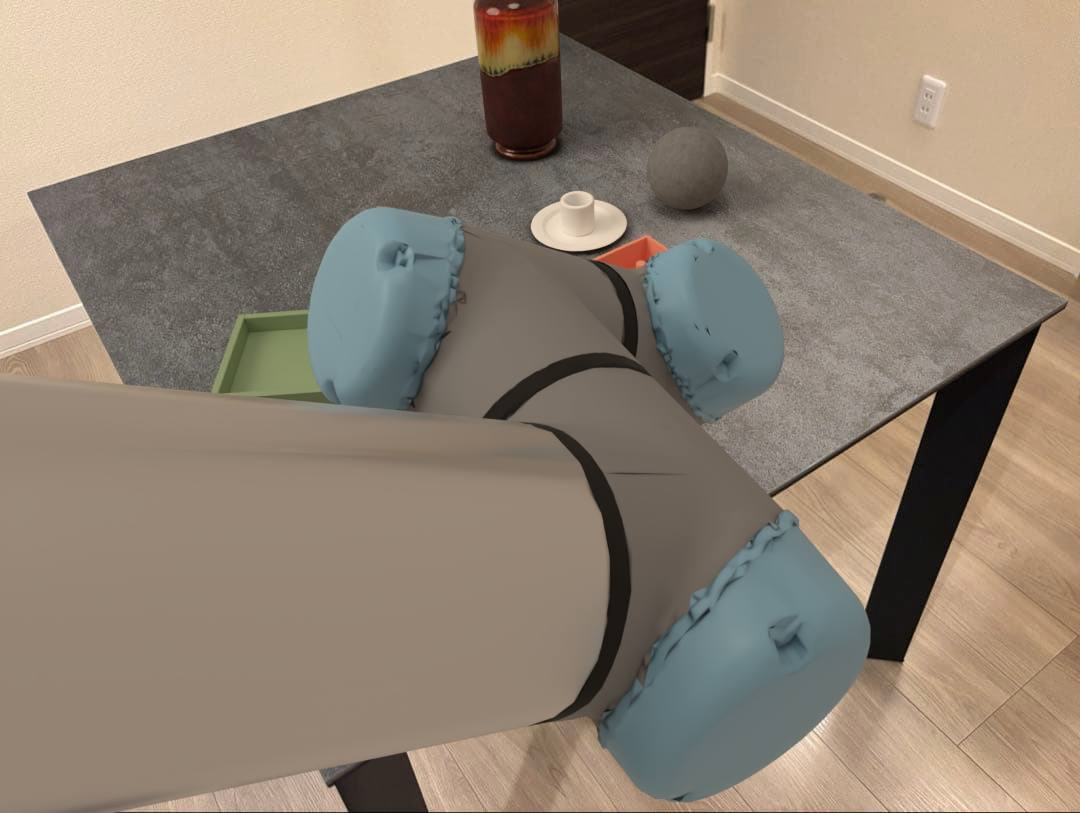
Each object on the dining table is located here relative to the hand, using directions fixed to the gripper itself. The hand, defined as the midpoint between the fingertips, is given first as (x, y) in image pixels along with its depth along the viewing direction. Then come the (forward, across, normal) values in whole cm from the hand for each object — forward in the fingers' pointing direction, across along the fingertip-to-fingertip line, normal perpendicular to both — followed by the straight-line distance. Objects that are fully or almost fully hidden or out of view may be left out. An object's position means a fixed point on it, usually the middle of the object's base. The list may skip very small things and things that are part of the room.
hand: (335, 530), depth 61 cm
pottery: (-4, +42, -16) cm, 45 cm away
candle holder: (+7, +56, -5) cm, 57 cm away
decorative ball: (-1, +66, -13) cm, 67 cm away
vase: (+17, +75, +5) cm, 77 cm away
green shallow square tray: (+21, +22, +9) cm, 31 cm away
